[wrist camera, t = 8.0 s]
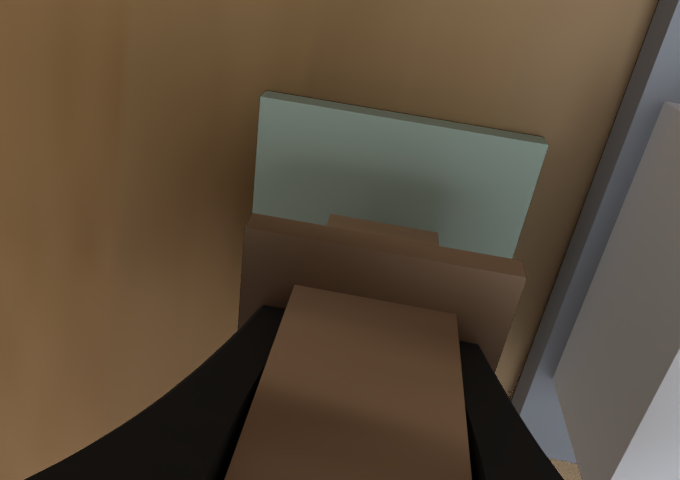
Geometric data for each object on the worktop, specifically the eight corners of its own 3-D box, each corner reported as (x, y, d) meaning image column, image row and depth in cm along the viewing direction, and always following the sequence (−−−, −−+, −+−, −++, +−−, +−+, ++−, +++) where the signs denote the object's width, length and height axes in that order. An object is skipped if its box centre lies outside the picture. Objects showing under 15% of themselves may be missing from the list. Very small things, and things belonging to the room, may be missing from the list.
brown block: (452, 365, 16) (488, 869, 7) (269, 331, 16) (97, 782, 7) (501, 195, 13) (642, 652, 5) (285, 158, 14) (61, 533, 5)
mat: (474, 357, 18) (476, 370, 17) (249, 315, 18) (244, 327, 18) (543, 137, 14) (548, 144, 14) (266, 90, 15) (260, 96, 14)
